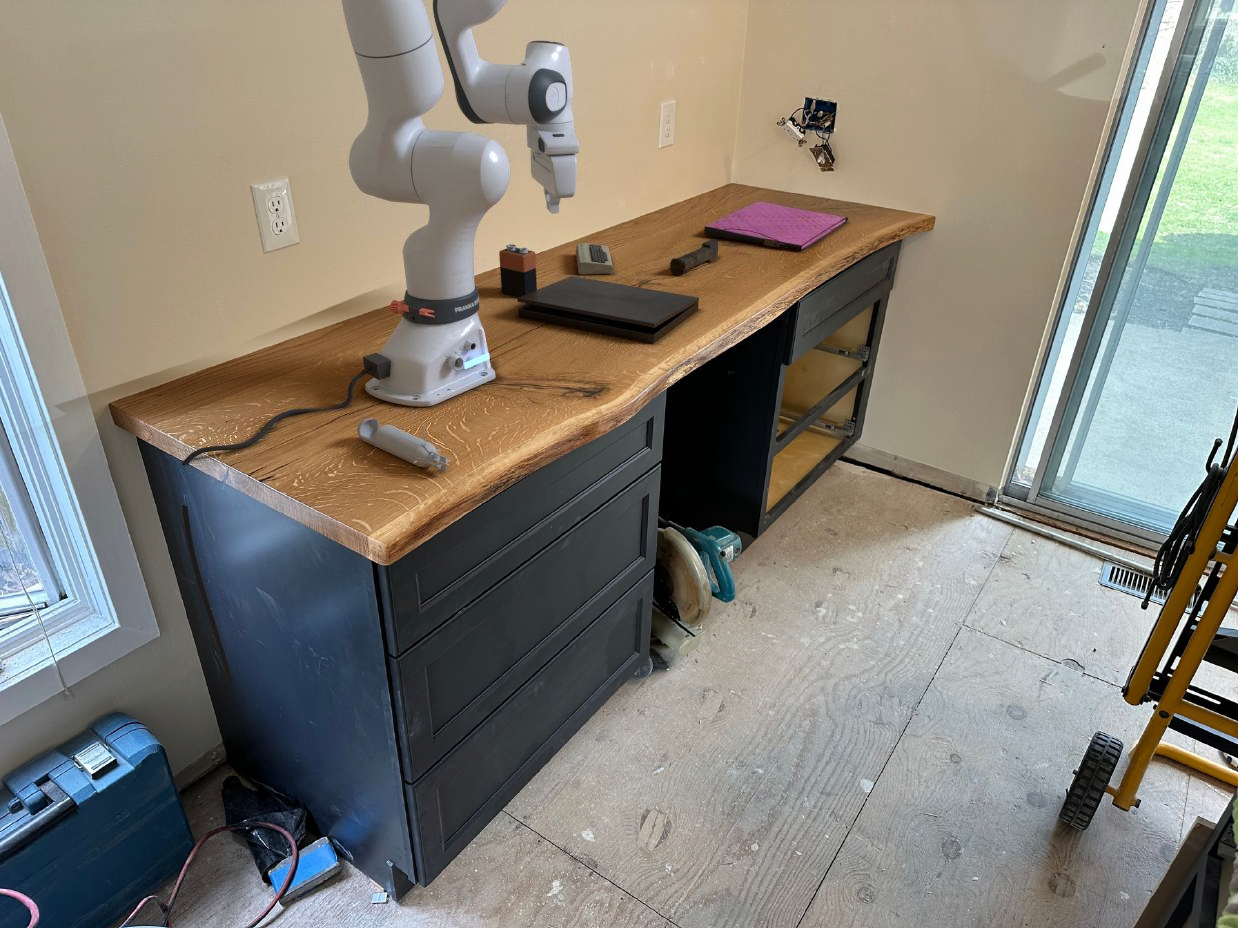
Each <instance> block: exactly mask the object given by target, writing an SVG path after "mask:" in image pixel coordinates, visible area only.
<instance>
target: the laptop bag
mask: <svg viewBox="0 0 1238 928" xmlns="http://www.w3.org/2000/svg"><path fill="white" fill-rule="evenodd" d="M848 221H849V217H848V216H845V215H839V214H838V215H837V214H831V213H825V212H821V211H814V210H807V209H803V208H802V209H801V208H796V207H790V206H786V205H781V204H777V203H776V204H775V203H771V202H765V201H756V202H754V203H751V204H749V205H747V206H744V207H742V208H740V209H738V210H736V211H733V212H732V213H729V214H727V215H726V216H723V217H721V218H718V219H717V220H715V221H713V222H711V223H708V224H707V225H705V226H704V228H703V235H704V236H708V237H714V239H716V240H717V241H718V243H723V244H728V245H733V243H731V242H725V241H721V240H718V239H717V238H721V239H728V240H729V239H730V240H735V241H742V242H743V241H744V242H749V243H755V244H754V246H755V247H757V246H758V247H763V245H764V247H766V248H771V247H773V249H774V248H775V249H776V248H785V249H790V250H795V251H803V250H805V249H807V248H809V247H810V246H813V244H815V243H817V242H819V241H820V240H822V239H823V238H825V237H826V236H828V235H829V234H831V233H833V232H834V231H836V230H837V229H839V228H840V227H842V226H843V225H844V224H846V223H847V222H848ZM734 245H736V246H743V244H742V243H741V244H740V243H734Z"/></svg>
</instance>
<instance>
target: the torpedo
mask: <svg viewBox="0 0 1238 928" xmlns="http://www.w3.org/2000/svg"><path fill="white" fill-rule="evenodd" d="M421 427H422V432H423V438H420V437H418V436H415V435H413V434H411V433H409V432H408V431H405V430H403V429H400V428H398V427H396V426H394V425H391V424H384V425H383V426H381V427H380V423H379V421H378V419H376V418H374V417H368V418H363V419H362V420H361V421H359V422H358V424H357V435H358V437H359V438H360V440H361V441H364V442H366V443H367V444H370V445H372V446H373V447H376V448H378V449H380V450H382V451H385V452H386V453H388V454H391V455H393V456H395V457H397V458H400V459H401V460H404V461H405V462H409V463H410V464H413V465H414V466H417V467H419V468H427V469H428V468H430V467H434V468H435V469H437V470H442V471H444V472H446V473H447V472H448V466H447V463H449V462H451V459H448V458H447V457H446V456H444V455H442V454H441V453H439V452H441V451H442V449H441V448H440V449H439V448H438V449H437V448H436V446H435V445H434V444H432V443H431V442H429V441H426V433H425V424H422V425H421Z"/></svg>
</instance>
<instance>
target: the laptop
mask: <svg viewBox="0 0 1238 928" xmlns="http://www.w3.org/2000/svg"><path fill="white" fill-rule="evenodd" d="M699 304H700V302H699V301H698V302H697V303H695V304H693V305H692V306H690V307H688V308H687V309H685V310H683V311H682V312H680V313H678V314H676V315H675V316H673V317H671V318H670V319H668V320H666V321H665V322H663V323H661V324H660V325H658V326H656V327H655V328H653V327H648V326H642V325H637V324H632V323H627V322H621V321H616V320H611V319H605V318H600V317H595V316H590V315H584V314H579V313H574V312H569V311H563V310H558V309H553V308H548V307H542V306H537V305H532V304H526V303H525V304H524V305H521V306H519V307H518V308H517V317H518V318H522V319H527V320H531V321H537V322H542V323H546V324H553V325H557V326H561V327H566V328H571V329H576V330H581V331H588V332H591V333H597V334H602V335H607V336H613V337H617V338H621V339H627V340H633V341H637V342H642V343H646V344H647V343H648V344H652V345H654V344H655V343H657V342H659V340H661V339H662V338H663V337H665V336H666V335H667V334H669V333H670V332H671V331H673V330H674V329H676V328H677V327H678V326H679V325H681V324H682V323H683V322H684V321H686V320H687V319H689V318H690V317H692V316H693V315H694V314H696V313H697V312H698V311H699Z"/></svg>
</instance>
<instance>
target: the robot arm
mask: <svg viewBox="0 0 1238 928" xmlns="http://www.w3.org/2000/svg"><path fill="white" fill-rule="evenodd" d="M507 1H508V0H432V12H433V18H434V23H435V26H436V29H437V33H438V36H439V41H440V43H441V45H442V49H443V52H444V55H445V58H446V61H447V65H448V67H449V71H450V73H451V77H452V80H453V85H454V94H455V99H456V103H457V105H458V108H459V109H460V111H461V113H462V115H464V117H465V118H466V119H467V120H468V121H469V122H471V123H472V124H475V125H489V124H490V125H493V124H502V125H514V126H515V125H516V126H519V125H522V126H526V147H527V148H529V149H530V173H531V178H532V179H533V180H534V181H536V182H537V183H538V184H539V185H540V186H542V187H543V194H544V198H545V203H546V210H547V211H548V212H549V213H550V214H552V215H553V214H559V213H560V204H561V203H560V202H561V199H568V198H574V197H575V195H576V190H577V175H578V173H577V172H578V169H577V168H578V161H577V155H576V154H579V153H580V142H579V140H578V138H577V136H576V131H575V130H576V129H575V118H574V115H573V110H572V102H573V98H574V79H573V67H572V60H571V55H570V50H569V48H568V46H567V45H565V44H564V43H562V42H557V41H549V40H532V41H530V42H529V41H528V43H526V47H525V55H524V60H523V61H522V62H520V63H519V64H500V63H499V64H498V63H491V62H489V61H487V60H484V59H482V57H480V56H479V52H478V49H477V44H476V42H475V37H474V34H473V30H472V28H474V27H476V26H479V25H482V24H484V23H487V22H488V21H490V20H491V19H493V18H494V17H495V16H496V15H497V14H498V13H499V12H501V10H502V9H503V8H504V6H505V4H506V3H507ZM341 5H342V11H343V16H344V21H345V25H346V29H347V33H348V37H349V40H350V43H351V46H352V49H353V52H354V56H355V59H356V62H357V65H358V69H359V72H360V76H361V79H362V83H363V86H364V91H365V95H366V101H367V120H366V123H365V126H364V128H363V129H362V131H361V132H360V133H359V134H358V135H357V136H356V137H355V139H354V140H353V142H352V144H351V146H350V149H349V153H348V167H349V172H350V175H351V178H352V180H353V182H354V184H355V186H356V187H357V188H358V190H359V191H360V192H361V193H363V194H365V195H368V196H371V197H374V198H377V199H381V200H384V201H387V202H389V203H390V202H392V203H402V204H403V203H404V204H414V205H415V204H416V205H427V206H428V212H429V213H428V214H429V217H428V222H427V224H425V225H424V226H421V227H420V228H418V229H415V231H413V232H412V233H411V234H409V235H408V237H407V238H406V240H405V241H404V244H403V246H402V259H403V266H404V267H403V268H404V276H405V284H406V290H405V292H404V296H403V301H399V300H396V299H393V300H391V302H390V304H389V310H390V312H391V313H394V314H399V315H401V316H402V318H401V319H400V321H399V323H398V324H397V325H396V327H395V329H394V330H393V331H392V333H391V335H390V336H389V338H388V339H387V341H385V344H384V345H383V347H382V348H381V350H379V353H377V352H373V353H370V354H367V355H364V356H362V363H363V369H362V370H361V371H360V372H358V373H357V374H356V375H355V376H354V377H353V378H352V379H351V380H350V383H349V384H348V389H347V397H346V399H345V400H344V401H343V402H342V403H340V404H338V405H336V406H332V407H326V408H295V409H290V410H286V411H283V412H281V413H279V414H277V415H276V416H274V417H273V418H271V419H270V420H269V421H268V422H267V423H266V424H265V425H264V426H263V428H262V429H261V430H260V431H259V432H258V433H257V434H256V435H254V436H253V437H251V438H250V439H247V440H244V442H243V441H242V442H240V443H235V444H226V445H210V446H204V447H201V448H198V449H195V450H194V451H192V452H191V453H190V454H188V455H187V456H186V457H185V459H184V460H183V462H181V466H188V465H189V464H190V463H191V462H192V461H193V460H194V459H195V458H196V457H198V456H200V455H202V454H206V453H211V452H218V451H219V452H220V451H221V452H222V451H234V450H240V449H244V448H246V447H249V446H251V445H253V444H255V443H256V442H258V441H259V440H261V439H262V437H264V436H265V435H266V433H268V431H269V430H270V429H271V427H272V426H274V424H276V423H277V422H278V421H280V420H282V419H284V418H286V417H289V416H292V415H299V414H311V413H318V412H323V411H324V412H325V411H331V410H338V409H339V410H340V409H343V408H346V407H347V406H348V405H350V404H351V402H352V401H353V395H354V387H355V385H356V384H357V382H358V381H359V380H360V379H361V378H363V377H364V376H365V375H366V374H367V375H368V376H370V377H372V378H371V379H370V380H369V381H367V382H366V383H365V387H364V389H365V391H366V392H367V393H368V394H369V395H371V396H372V397H374V398H377V399H379V400H382V401H385V402H388V403H393V404H396V405H397V404H398V405H401V406H408V407H409V406H410V407H431V406H435V405H437V404H440V403H442V402H444V401H446V400H449V399H451V398H454V397H456V396H459V395H461V394H463V393H465V392H467V391H471V390H472V389H474V388H477V387H479V386H481V385H483V384H486V383H489V382H490V381H493V380H495V379H496V378H497V376H496V371H495V370H494V369H493V367H492V364H491V360H490V352H489V348H488V343H487V339H486V333H485V329H484V327H483V324H482V322H481V319H480V317H479V313H478V312H479V310H480V295H479V289H478V287H477V286H476V281H475V265H474V264H475V263H474V260H475V259H474V256H475V255H474V251H475V249H474V248H475V246H474V245H475V238H476V234H477V230H478V228H479V226H480V224H481V222H482V219H483V218H484V216H485V215H486V214H487V213H488V212H489V211H490V210H491V208H492V207H494V206H495V205H496V204H498V203H499V202H500V201H501V200H502V198H503V197H504V195H506V192H507V190H508V187H509V185H510V180H511V165H510V161H509V158H508V157H509V156H508V154H507V152H506V151H505V149H504V148H503V146H502V144H501V143H500V142H499V141H497V140H496V139H493V138H490V137H486V136H484V135H480V134H477V133H472V132H469V131H455V130H454V131H453V130H435V129H429V128H427V127H426V126H425V125H424V122H423V119H422V116H423V115H425V114H426V113H428V112H429V111H431V110H432V109H433V108H434V107H435V106H436V105H437V104H439V102H440V100H441V99H442V97H443V93H444V89H445V78H444V73H443V69H442V65H441V62H440V58H439V57H440V56H439V52H438V49H437V44H436V42H435V37H434V33H433V30H432V25H431V21H430V18H429V15H428V12H427V8H426V6H425V3H424V0H341ZM181 510H182V519H183V526H184V533H185V538H186V543H187V548H188V553H189V556H190V557H189V558H190V563H191V565H192V569H193V573H194V577H195V580H196V583H197V587H198V590H199V595H200V597H201V600H202V603H203V607H204V609H205V613H206V615H207V618H208V621H209V625H210V628H211V631H212V634H213V637H214V640H215V643H216V646H217V650H218V653H219V657H220V660H221V664H222V667H223V671H224V674H225V678H226V682H227V684H228V685H231V684H233V677H232V674H231V670H230V666H229V663H228V659H227V656H226V651H225V648H224V646H223V643H222V639H221V636H220V632H219V630H218V627H217V622H216V620H215V617H214V614H213V611H212V608H211V605H210V602H209V601H210V600H209V598H208V594H207V592H206V588H205V585H204V582H203V579H202V578H203V577H202V575H201V571H200V566H199V563H198V560H197V556H196V551H195V546H194V542H193V537H192V531H191V524H190V516H189V506H187V505H185V504H181Z"/></svg>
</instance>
